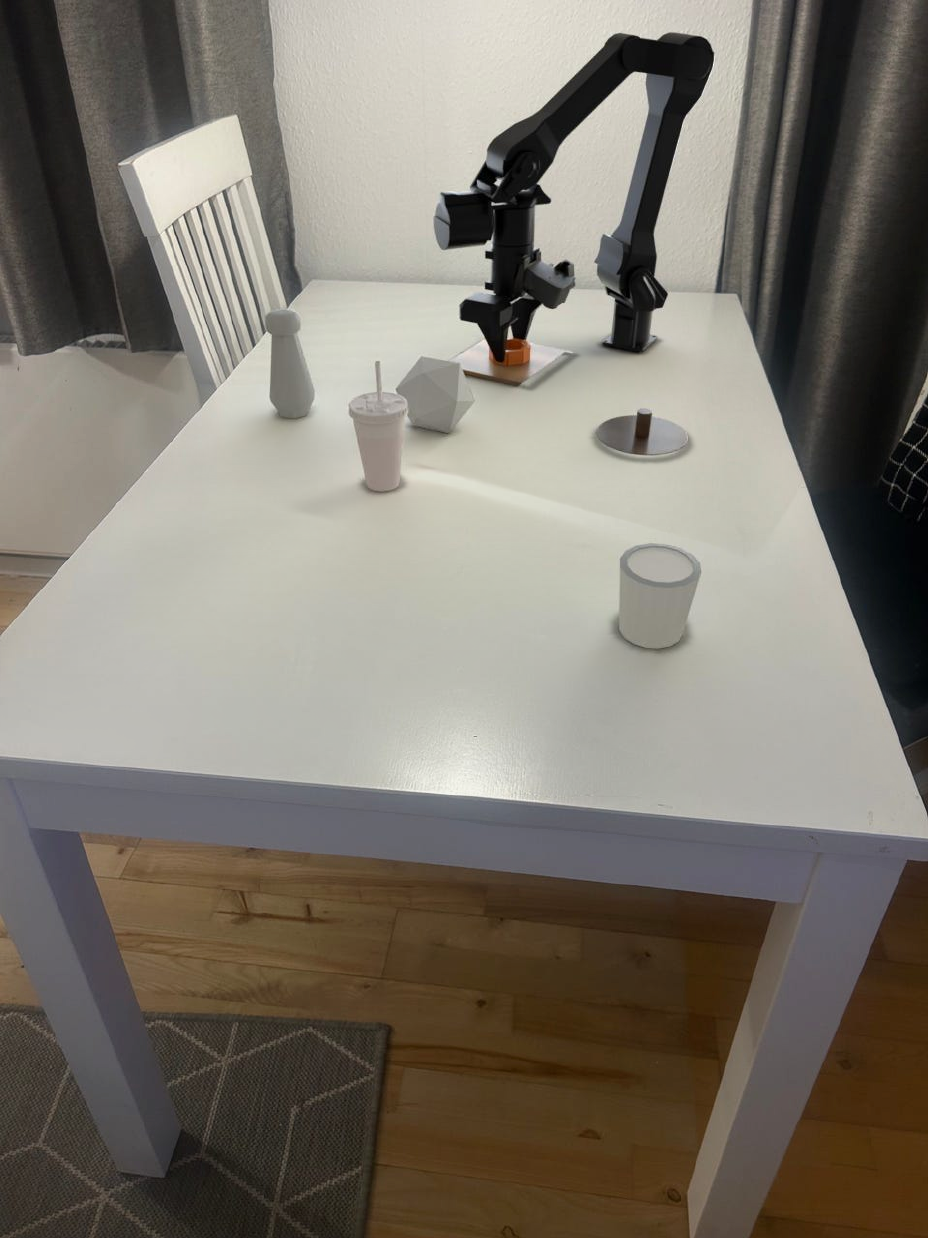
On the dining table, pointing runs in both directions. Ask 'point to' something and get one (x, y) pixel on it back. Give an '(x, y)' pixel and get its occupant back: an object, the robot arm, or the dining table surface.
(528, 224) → the robot arm
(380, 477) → the smoothie
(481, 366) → the trivet
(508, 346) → the ring
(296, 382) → the salt shaker
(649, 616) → the shot glass
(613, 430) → the ring post
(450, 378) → the die
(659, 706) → the dining table surface
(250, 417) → the dining table surface
